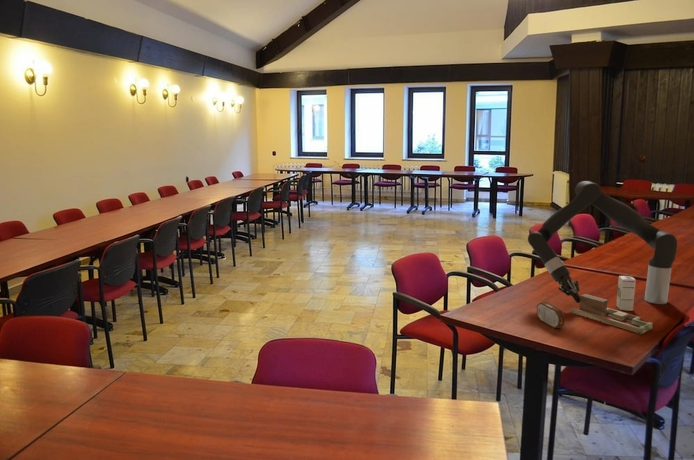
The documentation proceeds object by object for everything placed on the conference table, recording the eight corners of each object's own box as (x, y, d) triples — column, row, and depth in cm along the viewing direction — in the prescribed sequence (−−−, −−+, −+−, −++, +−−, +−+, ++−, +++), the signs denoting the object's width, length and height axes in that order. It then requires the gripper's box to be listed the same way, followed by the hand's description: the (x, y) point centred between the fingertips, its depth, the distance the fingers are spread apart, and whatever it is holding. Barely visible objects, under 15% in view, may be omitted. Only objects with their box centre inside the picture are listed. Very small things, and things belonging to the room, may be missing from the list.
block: (583, 311, 235) (585, 293, 233) (605, 317, 227) (607, 299, 225) (579, 312, 232) (580, 295, 231) (601, 319, 224) (603, 301, 223)
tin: (564, 330, 212) (566, 310, 210) (557, 331, 211) (559, 311, 210) (540, 317, 226) (542, 299, 225) (534, 318, 225) (536, 299, 224)
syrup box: (633, 311, 235) (636, 279, 232) (618, 310, 236) (622, 278, 233) (629, 306, 240) (632, 276, 237) (615, 305, 242) (618, 275, 239)
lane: (586, 306, 241) (587, 300, 240) (657, 326, 217) (657, 320, 217) (570, 312, 233) (570, 307, 232) (641, 334, 209) (642, 328, 208)
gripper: (554, 267, 234) (578, 300, 227) (571, 262, 242) (594, 294, 235) (543, 275, 240) (565, 309, 232) (559, 271, 247) (581, 303, 240)
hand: (580, 301), depth 234 cm, fingers closed
